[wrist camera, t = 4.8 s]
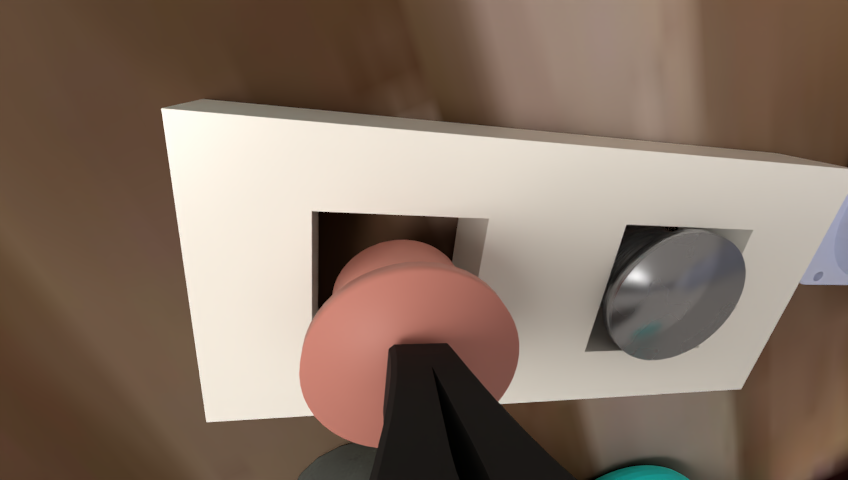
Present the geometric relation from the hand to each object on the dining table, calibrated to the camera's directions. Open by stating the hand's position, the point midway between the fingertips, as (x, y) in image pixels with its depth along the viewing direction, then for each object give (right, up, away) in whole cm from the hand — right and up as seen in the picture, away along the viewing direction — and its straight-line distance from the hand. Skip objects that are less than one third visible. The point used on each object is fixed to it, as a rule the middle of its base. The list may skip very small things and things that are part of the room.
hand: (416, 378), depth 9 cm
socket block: (+4, +3, +7) cm, 8 cm away
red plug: (-1, +1, +3) cm, 3 cm away
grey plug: (+9, +2, +8) cm, 12 cm away
